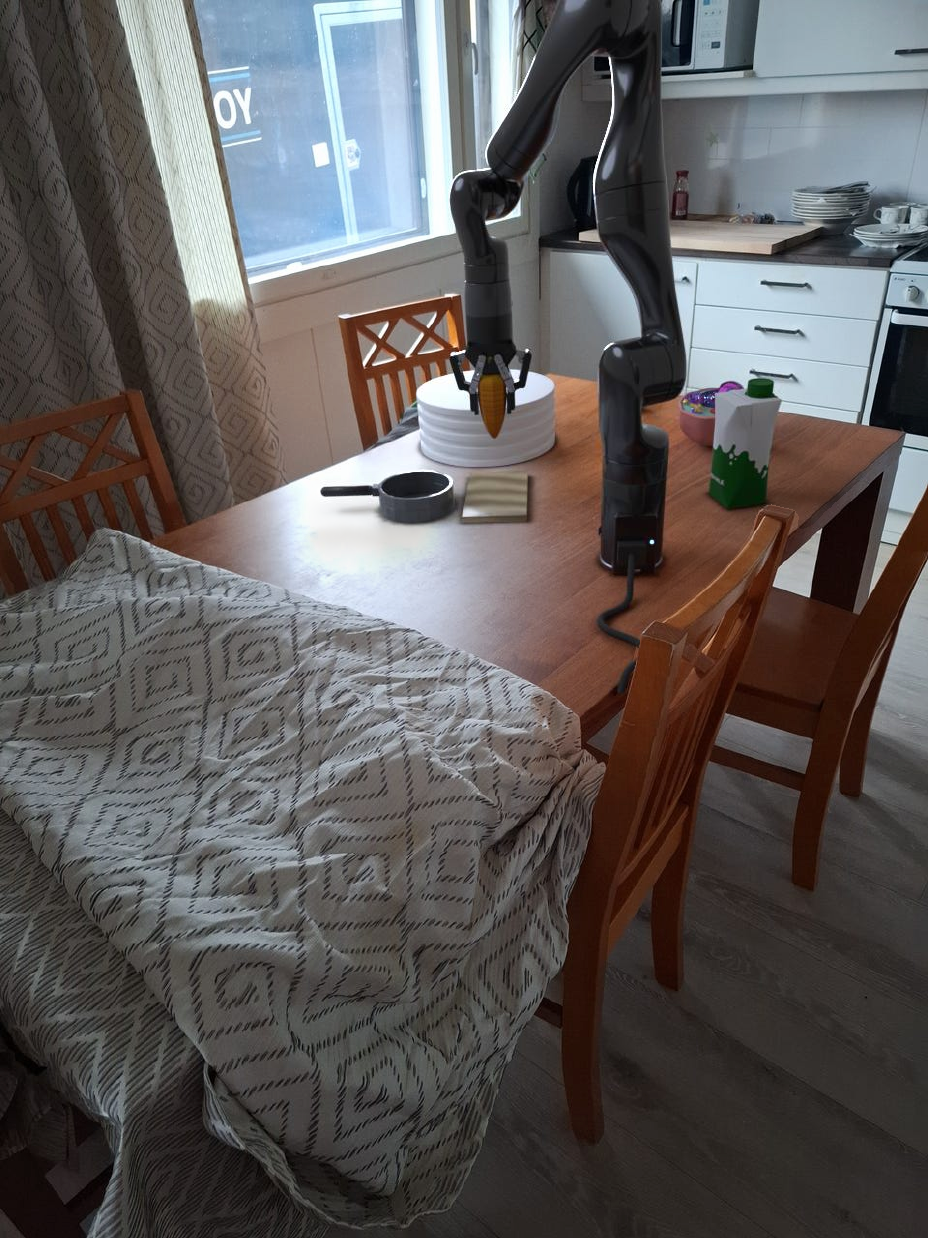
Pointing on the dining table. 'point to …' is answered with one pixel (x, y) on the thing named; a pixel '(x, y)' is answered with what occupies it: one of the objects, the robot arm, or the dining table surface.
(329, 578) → the dining table surface
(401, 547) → the dining table surface
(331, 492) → the pan handle
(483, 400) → the carrot
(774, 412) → the milk carton
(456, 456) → the plate stack
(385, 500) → the pan
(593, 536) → the dining table surface
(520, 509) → the board
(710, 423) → the cell model
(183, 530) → the dining table surface
